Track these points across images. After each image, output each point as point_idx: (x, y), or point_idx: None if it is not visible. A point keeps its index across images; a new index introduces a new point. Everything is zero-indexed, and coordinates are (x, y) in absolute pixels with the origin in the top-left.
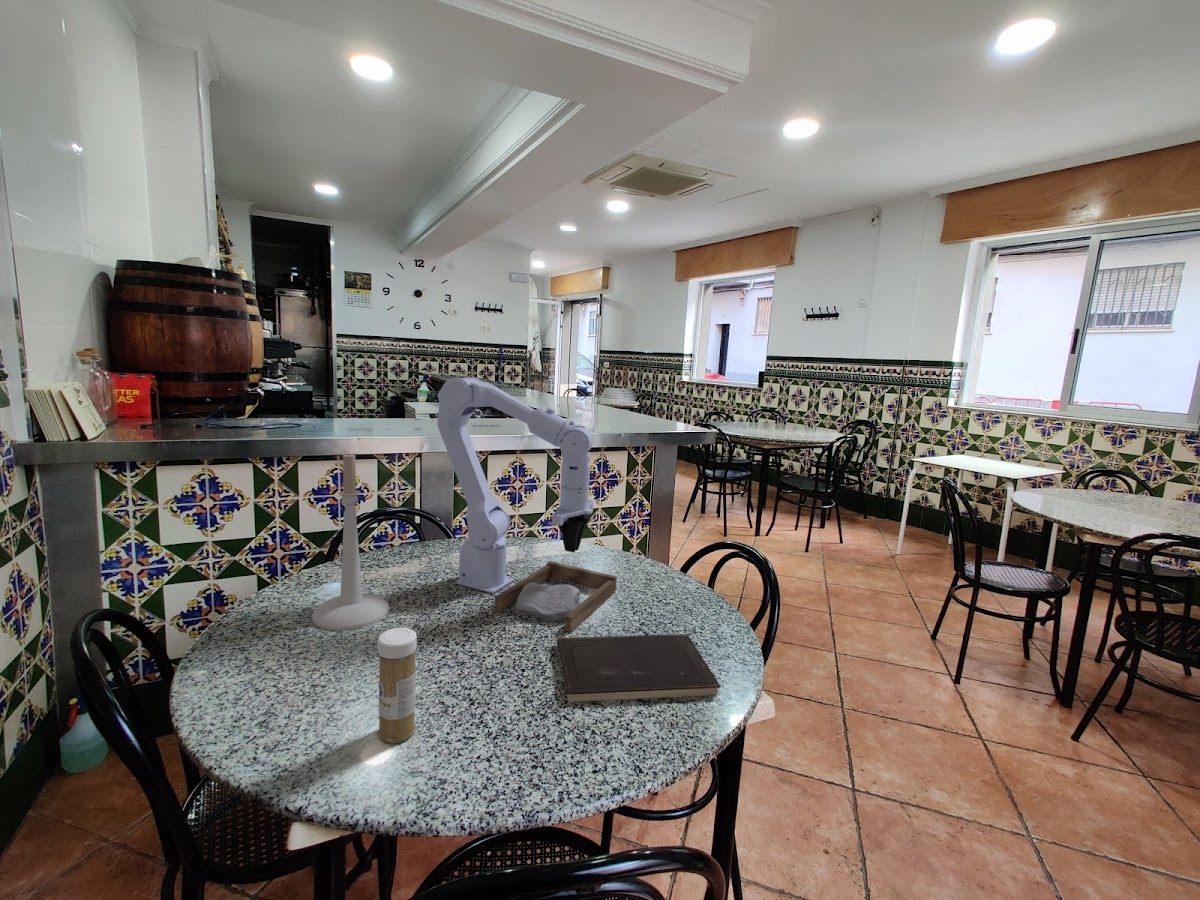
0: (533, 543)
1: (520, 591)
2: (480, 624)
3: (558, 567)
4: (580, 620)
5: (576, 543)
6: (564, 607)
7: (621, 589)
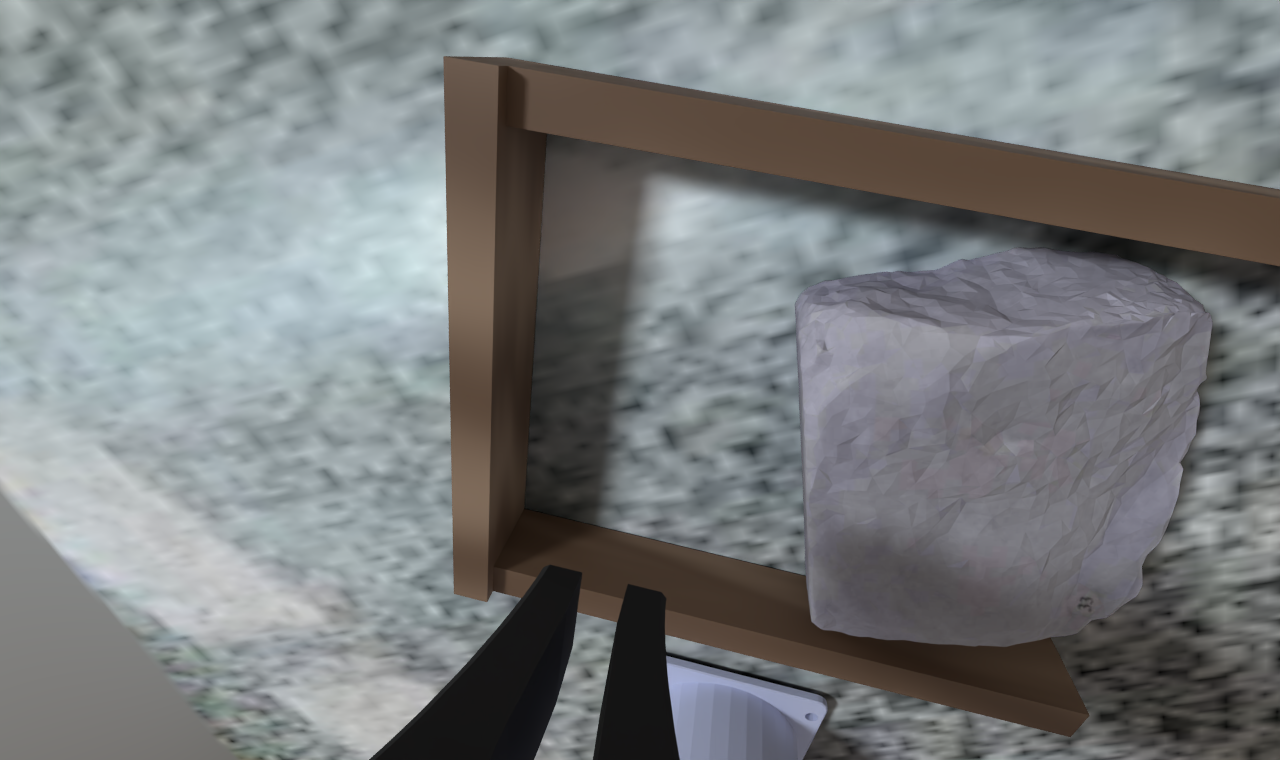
0: (196, 647)
1: None
2: (1202, 680)
3: (495, 528)
4: (1219, 181)
5: (634, 676)
6: (1175, 351)
7: (435, 22)
